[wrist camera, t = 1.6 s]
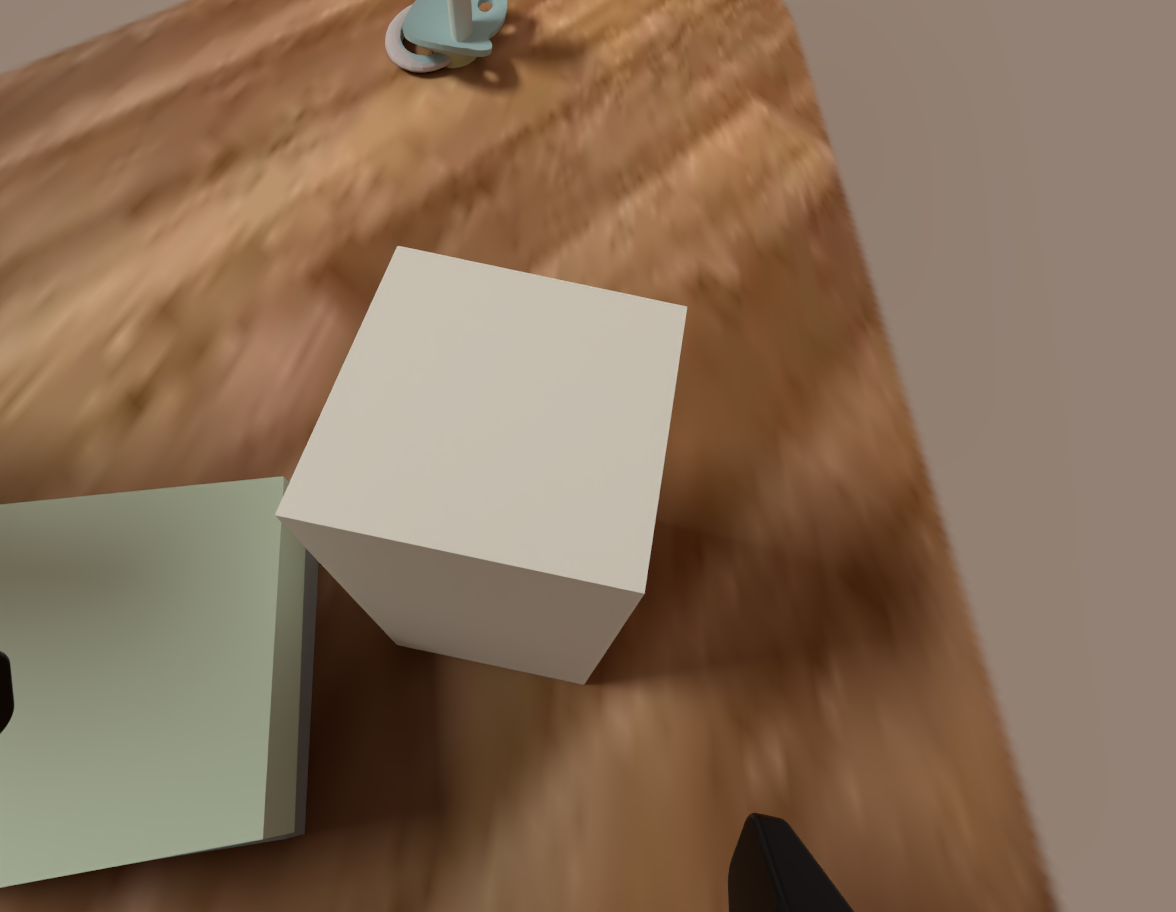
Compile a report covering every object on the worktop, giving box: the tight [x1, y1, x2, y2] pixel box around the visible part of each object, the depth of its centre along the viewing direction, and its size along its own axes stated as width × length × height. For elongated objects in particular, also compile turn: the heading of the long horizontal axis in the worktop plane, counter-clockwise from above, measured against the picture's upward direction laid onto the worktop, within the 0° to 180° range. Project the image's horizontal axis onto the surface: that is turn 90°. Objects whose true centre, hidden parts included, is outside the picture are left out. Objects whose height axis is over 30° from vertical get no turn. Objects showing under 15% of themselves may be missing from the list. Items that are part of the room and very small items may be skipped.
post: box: [275, 246, 687, 685], centre depth 16 cm, size 6×6×11 cm
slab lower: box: [126, 548, 319, 865], centre depth 18 cm, size 9×9×2 cm
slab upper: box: [0, 476, 305, 888], centre depth 16 cm, size 9×9×2 cm
